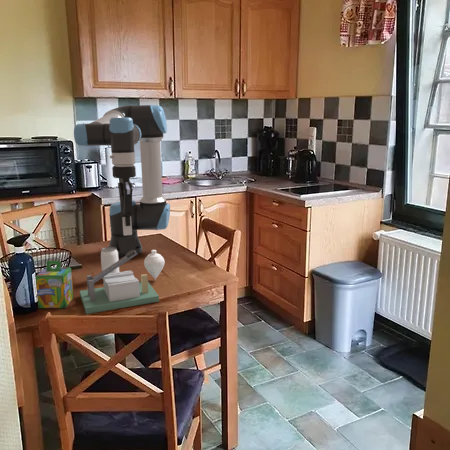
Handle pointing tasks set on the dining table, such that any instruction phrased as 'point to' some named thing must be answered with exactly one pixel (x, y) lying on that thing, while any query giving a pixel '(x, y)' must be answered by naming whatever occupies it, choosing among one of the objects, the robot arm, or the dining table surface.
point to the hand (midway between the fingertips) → (127, 234)
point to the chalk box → (54, 286)
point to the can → (109, 258)
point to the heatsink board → (115, 304)
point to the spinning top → (154, 263)
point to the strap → (114, 265)
